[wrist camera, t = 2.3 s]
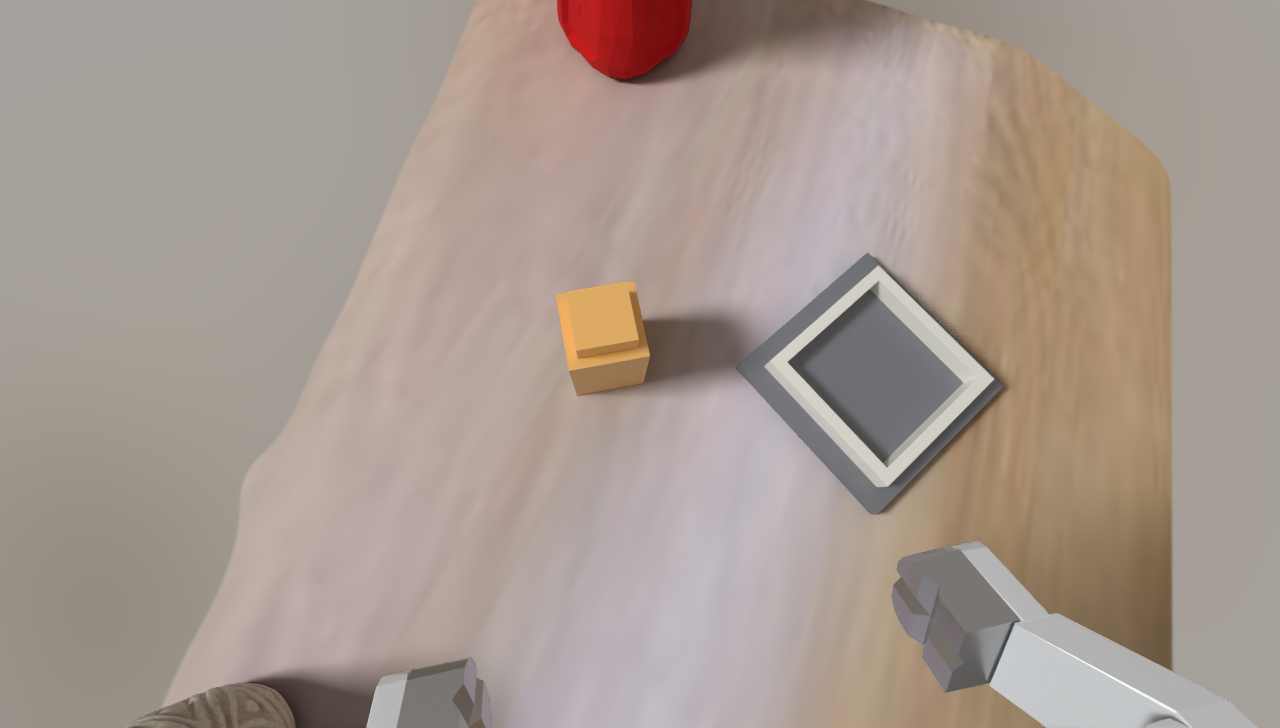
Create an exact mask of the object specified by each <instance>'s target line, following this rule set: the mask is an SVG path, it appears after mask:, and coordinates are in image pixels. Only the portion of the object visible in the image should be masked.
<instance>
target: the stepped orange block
mask: <svg viewBox="0 0 1280 728" xmlns="http://www.w3.org/2000/svg"><path fill="white" fill-rule="evenodd" d="M556 299H557V305H558V311H559V316H560V322H561V328H562V333H563V339H564V345H565V351H566V356H567V362H568V368H569V372H570V375H571V378H572V381H573V385H574V388H575V391H576V394H577V396H578V395H583V394H589V393H594V392H599V391H605V390H610V389H615V388H621V387H626V386H632V385H637V384H642V383H644V379H645V375H646V371H647V367H648V363H649V359H650V353H649V349H648V344H647V339H646V335H645V330H644V325H643V321H642V316H641V311H640V306H639V302H638V297H637V292H636V288H635V283H634V281H633V282H621V283H615V284H609V285H603V286H597V287H591V288H585V289H579V290H574V291H568V292H566V293H562V294H556Z"/></svg>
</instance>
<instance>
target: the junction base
mask: <svg viewBox="0 0 1280 728" xmlns="http://www.w3.org/2000/svg"><path fill="white" fill-rule="evenodd" d="M736 369H737V370H738V371H739V372H740V373H741V374H742V375H743V376H744V377H745V378H746V379H747V380H748V382H749V383H750V384H751V385H752V386H753V387H754V388H755V389H756V390H757V391H758V392H759V393H760V395H761V396H762V397H763V398H764V399H765V400H766V401H767V402H768V403H769V404H770V405H771V406H772V408H773V409H774V410H775V411H776V412H777V413H778V414H779V415H780V416H781V417H782V418H783V420H784V421H785V422H786V423H787V424H788V425H789V426H790V427H791V428H792V429H793V430H794V431H795V433H796V434H797V435H798V436H799V437H800V438H801V439H802V440H803V441H804V442H805V443H806V444H807V446H808V447H809V448H810V449H811V450H812V451H813V452H814V453H815V454H816V455H817V456H818V457H819V459H820V460H821V461H822V462H823V463H824V464H825V465H826V466H827V467H828V468H829V469H830V470H831V472H832V473H833V474H834V475H835V476H836V477H837V478H838V479H839V480H840V481H841V482H842V484H843V485H844V486H845V487H846V488H847V489H848V490H849V491H850V492H851V493H852V494H853V495H854V497H855V498H856V499H857V500H858V501H859V502H860V503H861V504H862V505H863V506H864V507H865V508H866V510H867V511H868V512H869V513H870V514H879V513H880V512H881V511H882V510H883V509H884V508H885V507H886V506H887V505H888V503H889V502H890V501H891V500H892V499H893V498H894V497H895V496H896V495H897V494H898V493H899V492H900V491H901V490H902V489H903V488H904V487H905V486H906V485H907V484H908V483H909V482H910V481H911V480H912V479H913V478H914V477H915V476H916V475H917V474H918V473H919V472H920V471H921V470H922V469H923V468H924V467H925V466H926V465H927V464H928V463H929V462H930V461H931V460H932V459H933V458H934V457H935V456H936V455H937V454H938V453H939V452H940V450H941V449H942V448H943V447H944V446H945V445H946V444H947V443H948V442H949V441H950V440H951V439H952V438H953V437H954V436H955V435H956V434H957V433H958V432H959V431H960V430H961V429H962V428H963V427H964V426H965V425H966V424H967V423H968V422H969V421H970V420H971V419H972V418H973V417H974V416H975V415H976V414H977V413H978V412H979V411H980V410H981V409H982V408H983V407H984V406H985V405H986V404H987V403H988V402H989V401H990V400H991V399H992V397H993V396H994V395H995V394H996V393H997V392H998V391H999V390H1000V389H1001V388H1002V387H1003V385H1002V384H1001V383H1000V382H999V381H998V380H997V379H996V378H995V377H994V376H993V375H992V374H991V373H990V372H989V371H988V370H987V369H986V368H985V367H984V366H983V365H982V364H981V363H980V362H979V361H978V360H977V359H976V358H975V357H974V356H973V355H972V354H971V353H970V352H969V351H968V350H967V349H966V348H965V347H964V346H962V345H961V344H960V343H959V342H958V341H957V340H956V339H955V338H954V337H953V336H952V335H951V334H950V333H949V332H948V331H947V330H946V329H945V328H944V327H943V326H942V325H941V324H940V323H939V322H938V321H937V320H936V319H935V318H934V317H933V316H932V315H931V314H930V313H929V312H928V311H927V310H926V309H925V308H924V307H923V306H922V305H921V304H920V303H919V302H918V301H917V300H916V299H914V298H913V297H912V296H911V295H910V294H909V293H908V292H907V291H906V290H905V289H904V288H903V287H902V286H901V285H900V284H899V283H898V282H897V281H896V280H895V279H894V278H893V277H892V276H891V275H890V274H889V273H888V272H887V271H886V270H885V269H884V268H883V267H882V266H881V265H880V264H879V263H878V262H877V261H876V260H875V259H874V258H873V257H872V256H871V255H870V254H869V253H867V254H866V255H864V256H863V257H862V258H861V259H860V260H859V261H857V262H856V263H855V264H854V265H853V266H852V267H851V268H849V269H848V270H847V271H846V272H845V273H844V274H843V275H841V276H840V277H839V278H838V279H837V280H836V281H835V282H833V283H832V284H831V285H830V286H829V287H828V288H826V289H825V290H824V291H823V292H822V293H821V294H820V295H818V296H817V297H816V298H815V299H814V300H813V301H812V302H810V303H809V304H808V305H807V306H806V307H805V308H803V309H802V310H801V311H800V312H799V313H798V314H797V315H795V316H794V317H793V318H792V319H791V320H790V321H789V322H787V323H786V324H785V325H784V326H783V327H782V328H780V329H779V330H778V331H777V332H776V333H775V334H774V335H772V336H771V337H770V338H769V339H768V340H767V341H766V342H764V343H763V344H762V345H761V346H760V347H759V348H758V349H756V350H755V351H754V352H753V353H752V354H751V355H749V356H748V357H747V358H746V359H745V360H744V361H743V362H741V363H740V364H739V365H738V366H737V367H736Z"/></svg>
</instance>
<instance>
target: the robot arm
mask: <svg viewBox="0 0 1280 728" xmlns="http://www.w3.org/2000/svg"><path fill="white" fill-rule="evenodd" d="M897 572H898V573H899V574H900V576H901V578H900V579H899V580H898V581H897V582H896V583H895V584H894V585H893V590H892V601H893V605H894V610H895V613H896V615H897V617H898V619H899V621H900V623H901V625H902V626H903V628H904V630H905V631H906V633H907V634H908V635H909V636H910V637H912V638H914V639H915V640H917V641H918V642H920V643H922V644H923V659H924V661H925V662H926V664H927V665H928V667H929V668H930V670H931V671H932V673H933V674H934V676H935V677H936V679H937V680H938V682H939V683H940V685H941V686H942V688H943V689H944V691H945V693H946V692H951V691H955V690H960V689H964V688H969V687H973V686H977V685H982V684H986V683H990V685H989V686H991V687H992V688H993V689H995V690H996V691H997V692H999V693H1000V694H1001V695H1003V696H1004V697H1006V698H1007V699H1008V700H1010V701H1011V702H1012V703H1014V704H1015V705H1016V706H1018V707H1019V708H1021V709H1022V710H1023V711H1025V712H1026V713H1027V714H1029V715H1030V716H1031V717H1033V718H1034V719H1035V720H1037V721H1038V722H1040V723H1041V724H1042V725H1044V726H1045V727H1046V728H1258V727H1257V726H1256V725H1255V724H1254V723H1253V722H1252V721H1251V720H1249V719H1248V718H1247V717H1246V716H1245V715H1244V714H1243V713H1242V712H1241V711H1240V710H1239V709H1238V708H1237V707H1235V706H1234V705H1233V704H1232V703H1231V702H1230V701H1229V700H1227V699H1225V698H1223V697H1221V696H1220V695H1218V694H1216V693H1214V692H1212V691H1210V690H1208V689H1206V688H1204V687H1202V686H1200V685H1198V684H1196V683H1194V682H1192V681H1190V680H1188V679H1186V678H1184V677H1182V676H1180V675H1178V674H1176V673H1174V672H1172V671H1171V670H1169V669H1167V668H1165V667H1163V666H1161V665H1159V664H1157V663H1155V662H1153V661H1151V660H1149V659H1147V658H1145V657H1143V656H1141V655H1139V654H1137V653H1135V652H1133V651H1131V650H1129V649H1127V648H1125V647H1123V646H1121V645H1119V644H1118V643H1116V642H1114V641H1112V640H1110V639H1108V638H1106V637H1104V636H1102V635H1100V634H1098V633H1096V632H1094V631H1092V630H1090V629H1088V628H1086V627H1084V626H1082V625H1080V624H1078V623H1076V622H1074V621H1072V620H1070V619H1068V618H1066V617H1064V616H1063V615H1061V614H1059V613H1053V614H1049V613H1048V612H1047V611H1046V610H1045V609H1044V608H1043V607H1042V606H1041V605H1040V604H1039V602H1038V601H1037V600H1036V599H1035V598H1034V597H1033V596H1032V595H1031V594H1030V593H1029V592H1028V591H1027V590H1026V589H1025V587H1024V586H1023V585H1022V584H1021V583H1020V582H1019V581H1018V580H1017V579H1016V578H1015V577H1014V576H1013V575H1012V574H1011V572H1010V571H1009V570H1008V569H1007V568H1006V567H1005V566H1004V565H1003V564H1002V563H1001V562H1000V561H999V560H998V559H997V557H996V556H995V555H994V554H993V553H992V552H991V551H990V550H989V549H988V548H987V547H986V546H985V545H984V544H982V543H980V542H979V541H970V542H966V543H961V544H957V545H953V546H946V547H942V548H938V549H934V550H930V551H926V552H922V553H918V554H914V555H910V556H906V557H903V558H902V559H900V560H899V561H898V565H897ZM476 675H477V666H476V664H475V662H474V660H473V658H472V657H469V658H464V659H460V660H455V661H451V662H446V663H442V664H437V665H433V666H428V667H424V668H419V669H412V670H408V671H404V672H400V673H395V674H391V675H387V676H383V677H382V678H381V680H380V682H379V684H378V685H377V687H376V690H375V694H374V698H373V702H372V706H371V711H370V715H369V719H368V723H367V727H366V728H491V713H490V700H489V696H488V691H487V688H486V686H485V683H484V681H482V680H480V679H478V678H476Z"/></svg>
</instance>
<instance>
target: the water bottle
mask: <svg viewBox="0 0 1280 728" xmlns="http://www.w3.org/2000/svg"><path fill="white" fill-rule="evenodd" d="M691 8H692V0H557V10H558V19H559V22H560V24H561V26H562V28H563V30H564V32H565V34H566V36H567V38H568V40H569V42H570V44H571V46H572V47H573V48H575V49H576V50H577V51H578V52H580V53H581V54H582V56H583V57H584V58H585V59H586V60H587V61H588V63H589V64H590V65H591V66H592V67H593V68H595V69H596V70H598V71H600V72H602V73H603V74H605V75H607V76H609V77H612V78H619V79H626V80H627V79H630V78H633V77H636V76H639V75H642V74H645V73H648V72H649V71H650V70H651V69H653V68H654V67H655V66H656V65H657V64H658V63H660V62H661V61H662V60H664V59H666V58H668V57H670V56H672V55H673V54H674V53H675V52H676V50H677V49H678V48H679V47H680V45H681V44H682V43H683V42H684V40H685V38H686V36H687V34H688V32H689V25H690V17H691Z"/></svg>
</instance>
